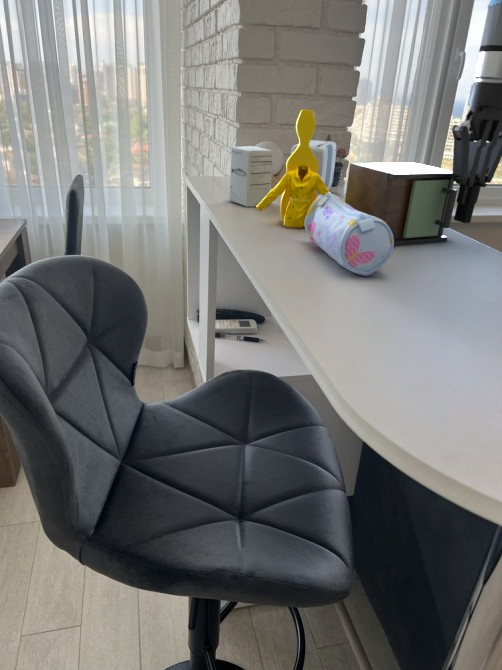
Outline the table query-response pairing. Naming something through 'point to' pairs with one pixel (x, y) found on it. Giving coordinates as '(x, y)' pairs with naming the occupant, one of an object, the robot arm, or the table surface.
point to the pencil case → (349, 234)
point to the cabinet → (392, 194)
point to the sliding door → (428, 208)
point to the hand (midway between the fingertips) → (461, 221)
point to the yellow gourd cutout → (323, 159)
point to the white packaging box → (250, 174)
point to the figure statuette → (298, 177)
